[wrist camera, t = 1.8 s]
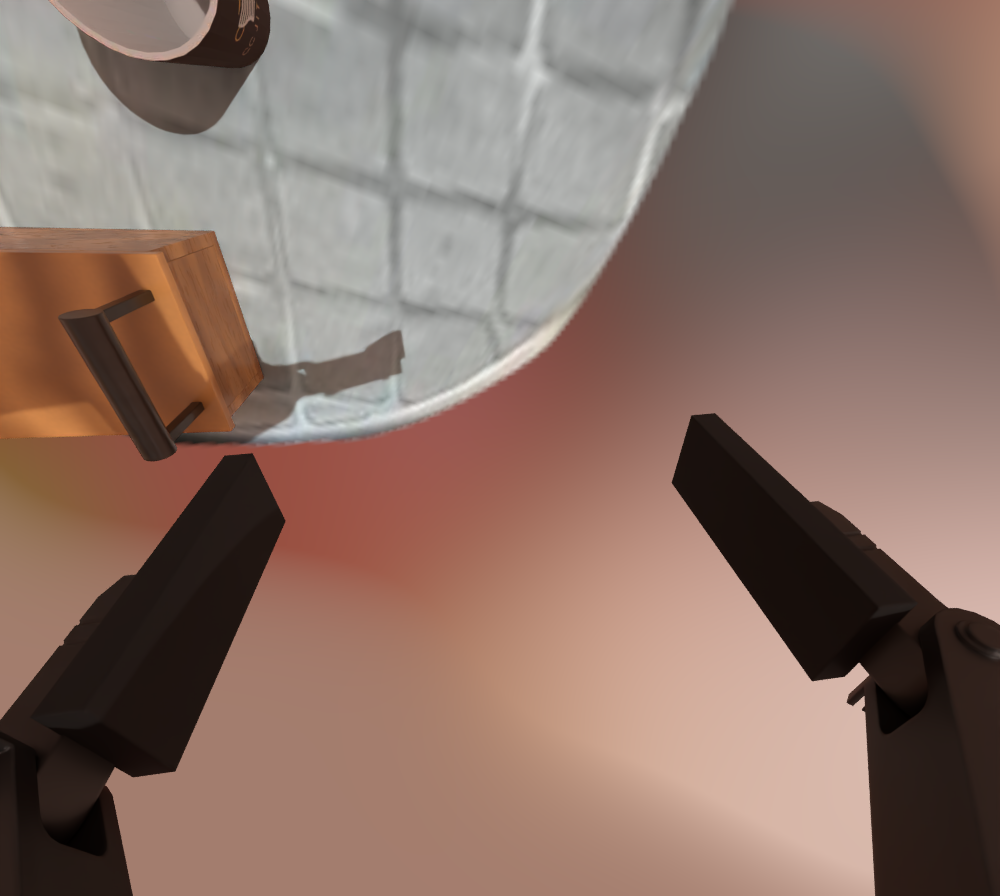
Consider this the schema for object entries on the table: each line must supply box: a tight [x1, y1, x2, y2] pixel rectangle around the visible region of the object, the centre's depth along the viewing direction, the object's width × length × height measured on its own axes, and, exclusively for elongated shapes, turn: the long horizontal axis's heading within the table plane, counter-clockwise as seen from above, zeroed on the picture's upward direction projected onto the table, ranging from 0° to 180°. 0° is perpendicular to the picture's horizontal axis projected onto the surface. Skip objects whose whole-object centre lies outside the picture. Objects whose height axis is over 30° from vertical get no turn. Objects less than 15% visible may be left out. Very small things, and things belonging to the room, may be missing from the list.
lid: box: [0, 250, 235, 461], centre depth 25 cm, size 17×13×7 cm
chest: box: [0, 227, 264, 416], centre depth 31 cm, size 16×13×9 cm
